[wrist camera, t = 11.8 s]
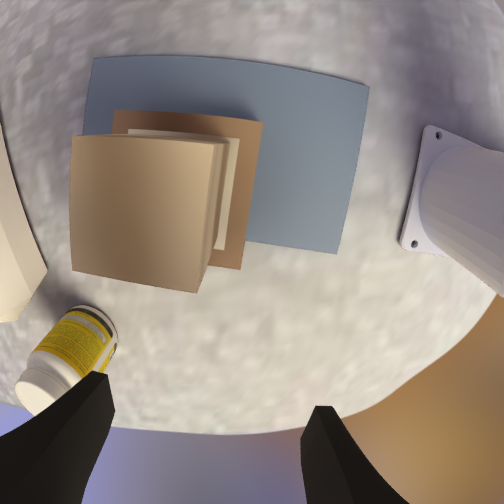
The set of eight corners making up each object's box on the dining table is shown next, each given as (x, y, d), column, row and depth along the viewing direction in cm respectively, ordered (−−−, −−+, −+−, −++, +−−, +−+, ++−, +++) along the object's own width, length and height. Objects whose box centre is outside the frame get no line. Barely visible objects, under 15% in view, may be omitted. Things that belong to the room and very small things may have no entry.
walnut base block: (261, 125, 16) (263, 121, 13) (242, 248, 18) (240, 270, 15) (136, 113, 15) (113, 110, 12) (127, 231, 18) (106, 249, 15)
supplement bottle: (60, 300, 20) (-2, 367, 12) (112, 306, 20) (56, 385, 12) (75, 350, 22) (28, 420, 14) (124, 358, 22) (85, 440, 14)
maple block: (230, 142, 13) (213, 144, 8) (217, 237, 15) (197, 293, 9) (136, 134, 13) (72, 136, 8) (129, 225, 14) (72, 270, 9)
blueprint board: (366, 88, 15) (369, 87, 15) (334, 251, 18) (336, 254, 18) (97, 60, 14) (94, 58, 14) (83, 215, 18) (79, 217, 17)
